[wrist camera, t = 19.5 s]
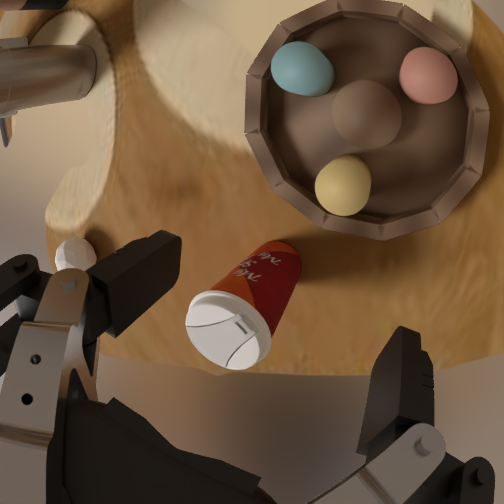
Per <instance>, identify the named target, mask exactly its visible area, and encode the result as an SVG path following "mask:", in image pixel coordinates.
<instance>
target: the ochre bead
mask: <svg viewBox="0 0 504 504" xmlns="http://www.w3.org/2000/svg"><path fill="white" fill-rule="evenodd" d="M371 183H372V175H371V171H370V168H369V166H368V165H367V164H366V162H365V161H364V160H362V159H361V158H359V157H357V156H355V155H350V154H345V155H340V156H338V157H336V158H335V159H333V160H332V161H331V162H330V163H329V164H327V165H326V166H325V167H324V168H323V169H322V170H321V171H320V172H319V174H318V176H317V178H316V182H315V192H316V196H317V199H318V201H319V202H320V204H321V205H322V206H323V207H324V208H325V209H326V210H327V211H329V212H331V213H333V214H335V215H340V216H348V215H352V214H355V213H357V212H358V211H360V210H361V209H362V208H363V207H364V206H365V204H366V203H367V201H368V198H369V193H370V188H371Z"/></svg>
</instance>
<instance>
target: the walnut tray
mask: <svg viewBox="0 0 504 504" xmlns="http://www.w3.org/2000/svg"><path fill="white" fill-rule="evenodd" d="M280 24H281V25H279V24H278V25H277V27H276V28H275V30H274V31H273V32H272V34H271V35H270V37H269V38H268V40H267V42H266V43H265V45H264V46H263V48H262V49H261V51H260V52H259V54H258V56H257V57H256V59H255V60H254V62H253V64H252V65H251V67H250V69H249V70H248V72H247V73H248V74H250V75H246V98H245V131H244V133H247V134H246V135H245V136H246V138H247V140H248V142H249V144H250V146H251V148H252V150H253V152H254V154H255V156H256V158H257V160H258V162H259V165H260V167H261V169H262V171H263V173H264V175H265V177H266V179H267V181H268V183H269V185H270V187H271V188H273V191H274V192H275V193H277V194H278V195H279V196H281V197H282V198H283V199H284V200H286V201H287V202H288V203H290V204H291V205H292V206H293V207H295V208H296V209H297V210H298V211H300V212H301V213H302V214H304V215H305V216H306V217H307V218H309V219H310V220H311V221H312V222H314V223H315V224H316V225H317V226H318V227H321V226H322V229H326V230H331V231H336V232H341V233H345V234H350V235H355V236H360V237H364V238H369V239H373V240H378V241H381V239H382V240H383V241H385V240H388V239H392V238H395V237H398V236H402V235H405V234H408V233H411V232H415V231H418V230H421V229H424V228H428V227H431V226H434V225H437V224H440V222H439V220H440V221H441V222H443V220H444V219H445V218H446V217H447V216H448V215H449V214H450V213H451V212H452V210H453V209H454V208H455V207H456V206H457V205H458V204H459V202H460V201H461V200H462V199H463V198H464V197H465V195H466V194H467V193H468V192H469V191H470V190H471V188H472V187H473V186H474V185H475V183H476V182H477V181H478V180H479V179H480V177H481V176H480V175H482V171H483V165H484V159H485V152H486V145H487V138H488V129H489V119H490V111H487V110H490V109H489V106H488V103H487V101H486V98H485V96H484V93H483V91H482V88H481V86H480V84H479V81H478V79H477V77H476V75H475V72H474V70H473V68H472V66H471V64H470V62H469V60H468V58H467V56H466V54H465V52H464V50H463V48H462V47H461V48H459V47H460V44H458V43H457V42H456V41H455V40H454V39H452V38H451V37H450V36H449V35H447V34H446V33H445V32H443V31H442V30H441V29H440V28H438V27H437V26H436V25H434V24H433V23H431V22H430V21H429V20H427V19H426V18H424V17H423V16H421V15H420V14H419V13H417V12H416V11H414V10H413V9H411V8H410V7H408V6H406V5H404V6H403V4H402V3H396V2H390V1H382V0H326V1H324V2H321V3H319V4H317V5H315V6H312V7H310V8H308V9H306V10H304V11H302V12H300V13H298V14H295V15H294V16H291V17H290V18H288V19H286V20H284V21H282V22H280ZM291 42H306V43H309V44H311V45H313V46H315V47H316V48H317V49H318V50H319V51H320V52H321V53H322V54H323V55H324V56H325V57H326V58H327V59H328V60H329V61H330V62H331V63H332V65H333V66H334V69H335V73H336V80H335V83H334V86H333V87H332V89H331V90H330V91H329V92H328V93H326V94H324V95H322V96H319V97H307V96H303V95H300V94H296V93H292V92H289V91H286V90H284V89H283V88H281V87H280V86H279V85H278V84H277V83H276V82H275V80H274V78H273V76H272V72H271V62H272V59H273V56H274V55H275V53H276V52H277V51H278V50H279V49H280V48H281V47H282V46H284V45H286V44H288V43H291ZM419 47H429V48H433V49H436V50H438V51H440V52H441V53H443V54H444V55H445V56H446V57H448V59H449V60H450V61H451V62H452V64H453V66H454V67H455V70H456V73H457V79H458V82H457V88H456V90H455V92H454V94H453V95H452V96H451V97H450V98H449V99H448V100H446V101H443V102H440V103H436V104H432V105H419V104H416V103H414V102H412V101H411V100H410V99H408V98H407V97H406V96H405V94H404V93H403V92H402V90H401V88H400V85H399V78H398V77H399V71H400V69H401V66H402V63H403V61H404V58H405V57H406V55H407V54H408V53H409V52H410V51H412V50H413V49H416V48H419ZM345 154H350V155H355V156H357V157H359V158H361V159H362V160H364V161H365V162H366V164H367V165H368V166H369V168H370V171H371V175H372V183H371V188H370V193H369V198H368V201H367V203H366V204H365V206H364V207H363V208H362V209H361V210H360V211H358V212H357V213H355V214H352V215H348V216H340V215H335V214H333V213H331V212H329V211H327V210H326V209H325V208H324V207H323V206H322V205H321V204H320V202H319V201H318V199H317V196H316V192H315V182H316V178H317V176H318V174H319V172H320V171H321V170H322V169H323V168H324V167H325V166H326V165H327V164H329V163H330V162H331V161H332V160H333V159H335V158H336V157H338V156H340V155H345ZM479 174H480V175H479Z"/></svg>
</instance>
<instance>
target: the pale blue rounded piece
mask: <svg viewBox="0 0 504 504" xmlns="http://www.w3.org/2000/svg"><path fill="white" fill-rule="evenodd" d="M271 72H272V76H273V78H274V80H275V82H276V83H277V84H278V85H279V86H280V87H281V88H283V89H284V90H286V91H289V92H292V93H296V94H300V95H303V96H307V97H319V96H322V95H324V94H326V93H328V92H329V91H330V90H331V89H332V87H333V86H334V83H335V80H336V73H335V69H334V66H333V65H332V63H331V62H330V61H329V60H328V59H327V58H326V57H325V56H324V55H323V54H322V53H321V52H320V51H319V50H318V49H317V48H316V47H315V46H313V45H311V44H309V43H306V42H291V43H288V44H286V45H284V46H282V47H281V48H280V49H279V50H278V51H277V52H276V53H275V55H274V56H273V59H272V62H271Z"/></svg>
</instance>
